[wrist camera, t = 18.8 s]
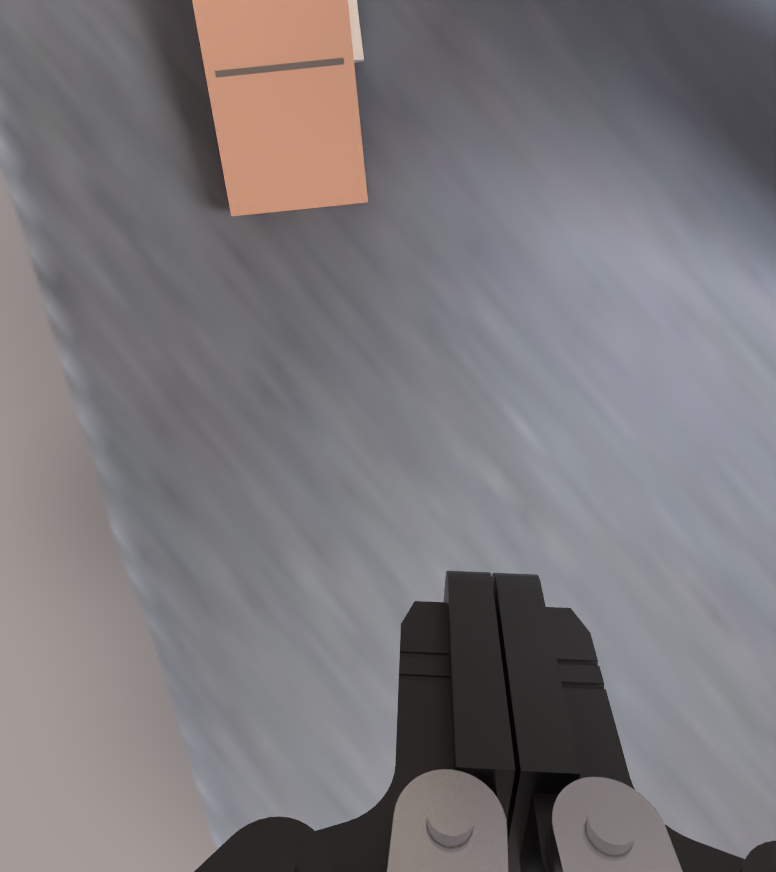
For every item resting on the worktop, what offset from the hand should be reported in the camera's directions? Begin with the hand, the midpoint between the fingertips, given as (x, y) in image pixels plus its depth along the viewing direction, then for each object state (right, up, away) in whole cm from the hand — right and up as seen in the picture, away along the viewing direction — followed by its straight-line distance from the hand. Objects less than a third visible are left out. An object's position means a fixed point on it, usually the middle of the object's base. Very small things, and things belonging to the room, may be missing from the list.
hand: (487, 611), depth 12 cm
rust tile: (-6, +13, +20) cm, 24 cm away
